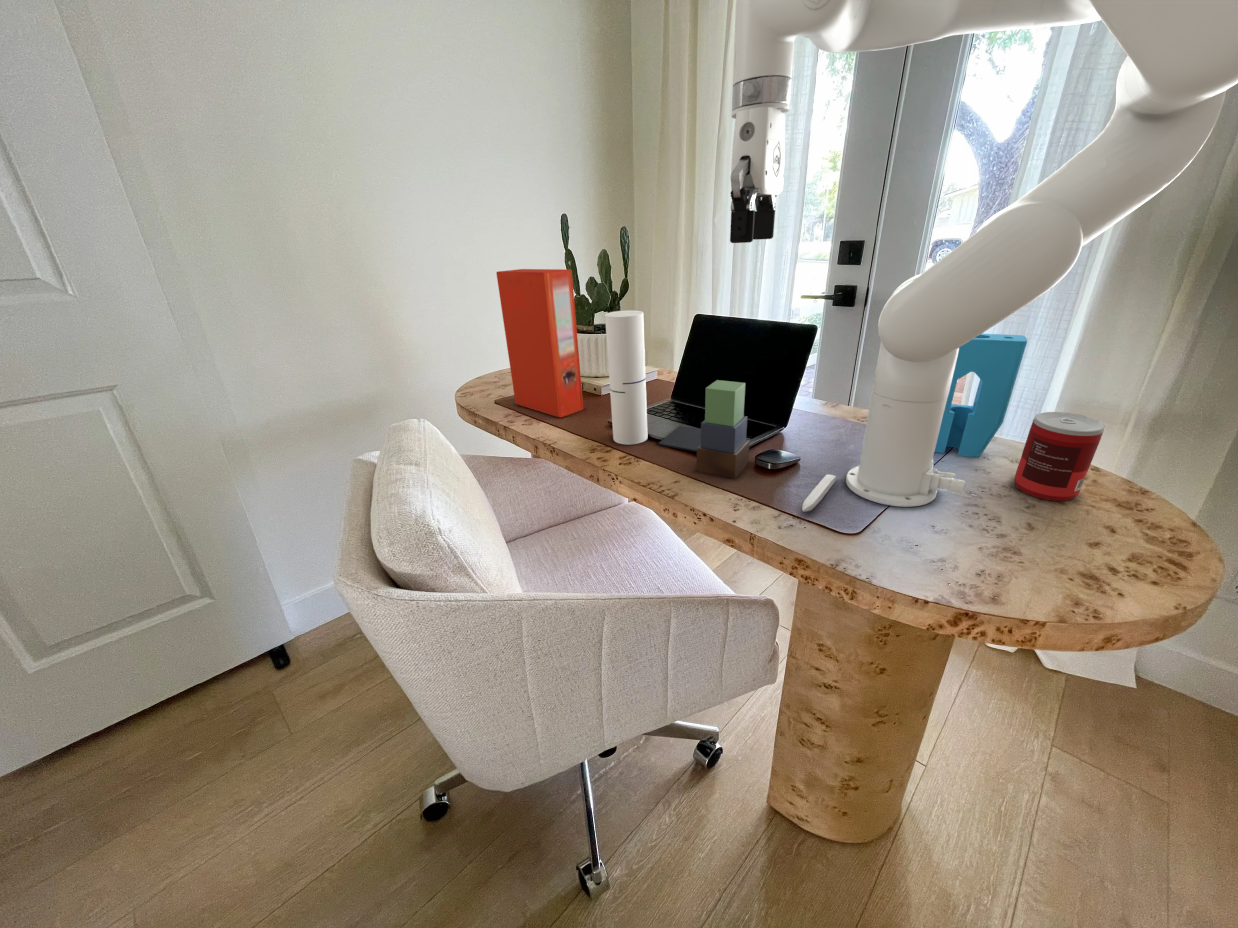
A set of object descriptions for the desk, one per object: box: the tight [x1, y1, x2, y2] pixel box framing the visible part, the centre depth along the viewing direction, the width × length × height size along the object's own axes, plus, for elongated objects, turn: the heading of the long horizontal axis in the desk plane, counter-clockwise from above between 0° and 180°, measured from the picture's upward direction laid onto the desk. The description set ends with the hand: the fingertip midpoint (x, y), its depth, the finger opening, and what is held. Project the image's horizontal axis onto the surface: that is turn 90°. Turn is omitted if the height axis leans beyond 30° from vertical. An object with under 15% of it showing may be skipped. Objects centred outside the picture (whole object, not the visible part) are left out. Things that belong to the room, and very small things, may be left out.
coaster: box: [657, 425, 701, 453], centre depth 99 cm, size 10×10×1 cm
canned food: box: [1014, 411, 1105, 502], centre depth 72 cm, size 8×8×11 cm
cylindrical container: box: [604, 309, 649, 446], centre depth 96 cm, size 7×7×25 cm
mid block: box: [700, 415, 748, 453], centre depth 84 cm, size 6×6×4 cm
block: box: [934, 333, 1029, 458], centre depth 84 cm, size 12×5×20 cm, turn 59°
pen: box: [801, 473, 837, 513], centre depth 75 cm, size 2×14×2 cm, turn 142°
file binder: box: [496, 268, 584, 419], centre depth 116 cm, size 8×17×32 cm, turn 47°
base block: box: [696, 439, 751, 480], centre depth 86 cm, size 7×7×4 cm
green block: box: [704, 379, 746, 427], centre depth 82 cm, size 5×5×6 cm
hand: (752, 240), depth 73 cm, fingers open, 9 cm apart
